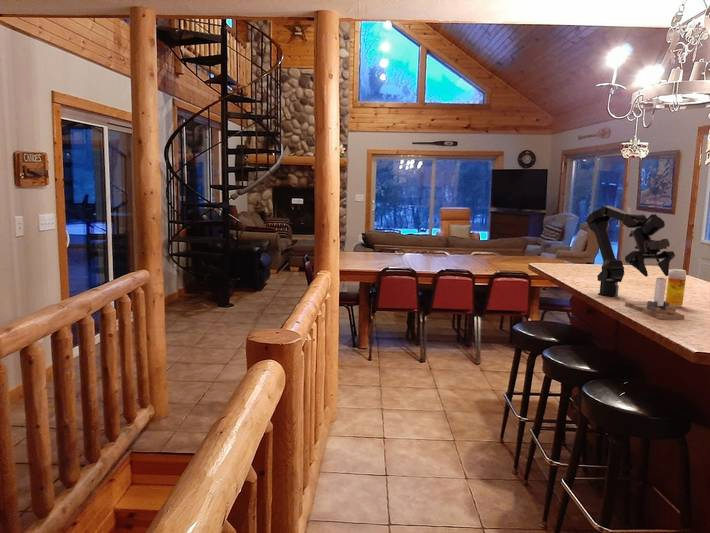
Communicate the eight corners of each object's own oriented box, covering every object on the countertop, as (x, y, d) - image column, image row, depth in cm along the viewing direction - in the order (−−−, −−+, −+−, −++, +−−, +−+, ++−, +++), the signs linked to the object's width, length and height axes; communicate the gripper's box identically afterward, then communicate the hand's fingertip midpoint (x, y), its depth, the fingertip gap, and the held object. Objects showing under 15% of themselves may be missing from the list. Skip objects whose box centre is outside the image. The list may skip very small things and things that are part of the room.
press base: (624, 305, 216) (625, 293, 215) (645, 305, 217) (646, 293, 216) (661, 319, 195) (663, 306, 194) (684, 319, 196) (685, 306, 195)
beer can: (673, 308, 213) (678, 271, 211) (661, 304, 219) (665, 268, 217) (685, 307, 215) (690, 271, 213) (673, 303, 221) (677, 268, 218)
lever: (651, 307, 204) (655, 277, 202) (659, 306, 204) (663, 277, 203) (655, 308, 202) (659, 278, 200) (664, 308, 202) (667, 279, 200)
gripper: (635, 231, 205) (649, 266, 198) (677, 231, 208) (692, 266, 201) (618, 245, 214) (631, 279, 207) (658, 245, 218) (672, 279, 211)
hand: (657, 276), depth 206 cm, fingers open, 9 cm apart
